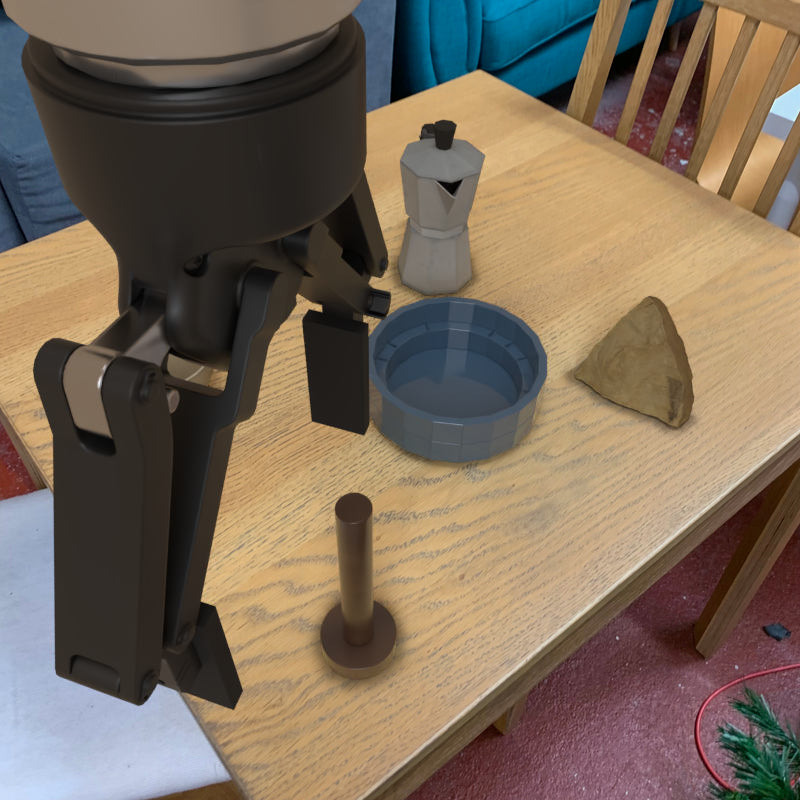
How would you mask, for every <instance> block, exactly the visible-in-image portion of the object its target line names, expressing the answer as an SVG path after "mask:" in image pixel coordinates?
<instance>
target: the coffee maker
mask: <svg viewBox="0 0 800 800" xmlns="http://www.w3.org/2000/svg"><path fill="white" fill-rule="evenodd" d="M457 127H458V124H457V123H456V122H454V121H453V120H449V119H439V120H437V121H434V123H432V122H430V123H424V124H423V125H422V126H421V129H420V134H418V139H419V140H415V141H413V142H409V143H407V144H406V146H405V149H404V151H403V152H402V155H401V157H400V159H399V167H400V177H401V185H402V193H403V201H404V202H403V204H404V211H405V215H407V216H408V218H407V220H406V225H405V229H404V232H403V233H404V234H403V238H402V243H401V248H400V251H399V256H398V261H397V269H398V274H399V277H400V281H401V282H400V283H401V285H403V286H406V287H408V288H410V289H412V290H413V291H416V292H418V293H420V294H423V295H424V296H426V297H427V296H438V295H449V294H450V295H451V294H457V293H458V292H460V291H461V289H462V288H463V287H465V285H466V284H468V283H469V281H471V280H472V279H473V272H472V259H471V248H470V247H471V245H470V233H469V232H470V231H469V226H468V221H469V216H470V213H471V211H472V208H473V204H474V201H475V197H476V193H477V189H478V186H479V185H478V184H479V182H480V181H479V180H480V177H481V174H482V169H483V166H484V161H485V158H486V155H485V153H483V152H482V151H481V150H479V149H478V148H477V147H476V146H474V145H473V144H472V143H471V142H469V141H468V140H466V139H460V138H455V134H456V132H457V131H456V130H457Z"/></svg>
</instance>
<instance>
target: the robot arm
mask: <svg viewBox="0 0 800 800" xmlns="http://www.w3.org/2000/svg"><path fill="white" fill-rule="evenodd" d="M362 1H363V0H1V3H2V7H3V9H4V12H5V15H6V16H7V17H8V18H9V19H11V21H13V22H14V23H16V24H17V25H18V26H19V28H21V29H22V30H23V31H25V32H26V33H27V34H28V37H27V40H26V41H25V43H24V45H23V46H22V51H21V55H20V60H21V67H22V70H23V73H24V76H25V79H26V82H27V85H28V88H29V92H30V94H31V97H32V99H33V103H34V107H35V109H36V111H37V115H38V117H39V121H40V123H41V126H42V129H43V131H44V135H45V138H46V140H47V143H48V146H49V150H50V153H51V155H52V158H53V161H54V164H55V167H56V170H57V173H58V176H59V179H60V181H61V184H62V187H63V189H64V192H65V193H66V195H67V196H68V198H69V200H70V201H71V203H72V204H73V205H74V206H75V208H76V209H77V210H78V212H80V213H81V214H82V215H83V216H84V217H85V218H86V219H87V221H89V223H90V224H91V225H92V226H93V227H94V228H95V230H96V231H97V232H98V233H99V234H100V235H101V236H102V237H103V239H104V240H105V241H106V243H107V244H108V245H109V246H110V248H111V249H112V251H113V252H114V254H115V258H116V260H117V270H118V292H117V310H118V315H119V316H118V317H117V318H116V319H115V320H113V322H112V323H111V324H109V325H108V326H107V327H106V328H105V329H104V330H102V332H100V334H99V335H97V337H95V338H94V339H93V340H92V341H91V342H90V343H88V344H84V343H81V342H77V341H73V340H71V339H70V340H69V339H65V338H62V337H52V338H50V339H48V340H46V341H45V342H44V343H43V344H42V345H41V347H39V349H38V351H37V352H36V356H35V358H34V361H33V367H32V375H33V381H34V383H35V386H36V390H37V393H38V395H39V398H40V401H41V405H42V408H43V411H44V413H45V414H44V415H45V417H46V419H47V422H48V426H49V429H50V431H51V434H52V488H53V489H52V492H53V493H52V496H53V502H52V503H53V507H52V509H53V584H54V585H53V602H54V603H53V604H54V605H53V606H54V607H53V608H54V609H53V610H54V612H53V613H54V671H55V675H56V676H58V677H59V678H61V679H64V680H66V681H68V682H72V683H74V684H77V685H80V686H83V687H84V688H88V689H91V690H94V691H97V692H99V693H101V694H105V695H107V696H110V697H112V698H115V699H118V700H120V701H123V702H126V703H129V704H132V705H134V706H137V707H141V706H144V705H145V704H146V703H147V702H148V700H149V699H150V698H151V696H152V695H153V693H154V692H155V690H156V688H157V686H158V685H159V686H162V687H165V688H167V689H170V690H173V691H176V692H179V693H181V694H187V695H190V696H192V697H196V698H199V699H201V700H205V701H207V702H210V703H212V704H215V705H218V706H221V707H224V708H226V709H229V710H232V711H235V709H236V707H237V705H238V702H239V700H240V698H241V697H242V694H243V692H244V688H243V685H242V683H241V680H240V677H239V673H238V671H237V667H236V664H235V662H234V658H233V655H232V651H231V649H230V646H229V643H228V640H227V637H226V634H225V631H224V628H223V623H222V621H221V618H220V615H219V611H218V609H217V606H216V605H213V604H211V603H207V602H205V601H202V598H203V592H204V587H205V582H206V577H207V573H208V567H209V562H210V557H211V552H212V548H213V542H214V537H215V533H216V526H217V523H218V516H219V512H220V506H221V501H222V496H223V492H224V487H225V482H226V476H227V472H228V466H229V461H230V456H231V451H232V446H233V441H234V436H235V430H236V428H237V426H238V425H239V424H241V423H244V422H246V421H249V420H250V419H251V418H252V417H253V416H254V414H255V412H256V410H257V406H258V401H259V396H260V391H261V386H262V381H263V376H264V372H265V371H264V370H265V367H266V366H265V365H266V362H267V358H268V357H267V356H268V352H269V347H270V344H271V342H272V339H273V338H274V336H275V334H276V333H277V332H278V331H279V330H280V329H281V326H282V325H283V324H284V323H286V321H287V320H288V319H289V317H290V316H291V314H292V313H293V311H294V309H295V308H296V307H297V305H298V302H297V300H298V299H297V296H298V295H299V296H301V297H302V298H304V299H305V300H307V301H309V302H310V303H312V304H315V305H319V306H321V311H320V310H316V309H311V308H308V310H307V311H306V313H305V314H304V316H303V317H302V319H301V323H302V324H301V327H302V335H303V345H304V346H303V347H304V356H305V367H306V377H307V378H306V379H307V387H308V400H309V408H310V409H309V410H310V419H311V422H312V423H316V424H319V425H323V426H327V427H331V428H334V429H338V430H342V431H345V432H348V433H353V434H356V435H359V436H363V437H365V435H366V434H367V431H368V429H369V427H370V422H371V421H370V418H371V417H370V412H369V336H370V326H369V325H370V324H369V322H364V317H369V318H373V319H377V320H380V321H381V320H385V318H386V317H387V316H388V315H389V312H390V307H391V303H392V292H391V291H389V290H388V291H387V290H383V289H378V288H375V287H373V286H372V285H371V284H370V281H371V279H372V277H373V278H376V279H377V278H378V279H382V278H383V277H384V275H385V273H386V271H387V270H388V268H389V263H390V260H389V251H388V248H387V245H386V242H385V238H384V234H383V231H382V227H381V224H380V220H379V217H378V213H377V209H376V206H375V202H374V199H373V196H372V191H371V189H370V186H369V180H368V178H367V175H366V171H365V167H366V162H367V155H368V142H367V141H368V140H367V139H368V137H367V136H368V133H367V130H368V129H367V126H368V125H367V124H368V123H367V121H368V120H367V41H366V34H365V31H364V28H363V27H362V25H361V23H360V22H359V20H357V18H356V17H355V16H354V15H353V12H354V11H355V10H356V8H357V7H358V6H359V5H360V3H362ZM169 354H171V355H173V356H176V357H178V358H180V359H183V360H185V361H187V362H190V363H193V364H197V365H200V366H204V367H208V368H212V370H216V371H219V372H223V373H224V372H225V373H227V374H226V380H225V384H224V387H223V389H220V388H216V387H213V386H209V385H208V386H205V385H202V384H198V383H194V382H191V381H187V380H183V379H180V378H176V377H174V376H172V375H171V374H170V373H169V371H168V367H167V363H168V357H169Z"/></svg>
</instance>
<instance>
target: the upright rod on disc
mask: <svg viewBox="0 0 800 800" xmlns="http://www.w3.org/2000/svg"><path fill="white" fill-rule="evenodd" d="M334 517H335V534H336V548H337V558H338V559H337V560H338V562H337V563H338V576H339V590H340V591H339V592H340V602H339V603H337V604H335V605H334V606H333V607H332V608H331V609H330V610H329V611H328V612H327V613H326V615H325V616H324V618H323V621H321V626H320V632H319V638H320V639H319V640H320V646H321V647H320V648H321V653H322V656H323V659H324V661H325V663H326V664H327V665H328V667H329V668H330V670H332V671H333V672H335V674H337V675H339V676H341V677H343V678H346V679H349V680H365V679H366V680H367V679H369V678H372V677H375V676H377V675H378V674H380V673H381V672H383V671H384V670H385V669H386V668H387V667H388V666H390V664H391V662H392V660H393V658H394V656H395V654H396V650H397V638H398V637H397V636H398V635H397V633H398V632H397V631H398V629H397V625H396V622H395V618H394V617H393V615H392V613H391V612H390V611H389V610H388V608H387V607H385V606H384V605H383V604H381V603H380V602H378V601H376V600H374V507H373V503H372V501H371V500H370V498H369V497H368V496H367V495H365V494H363V493H361V492H348V493H345V494H343V495H341V496H340V497H339V498H338V499H337V501H336V503H335V505H334Z"/></svg>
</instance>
